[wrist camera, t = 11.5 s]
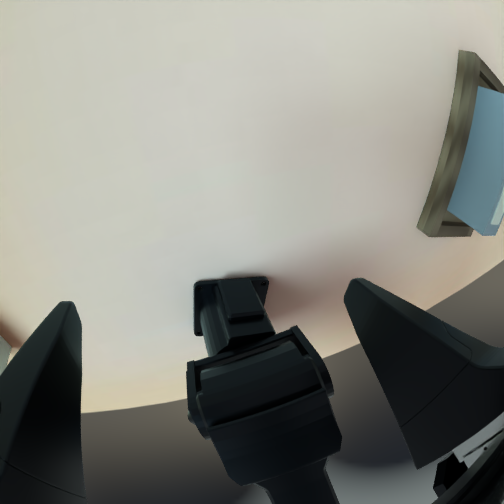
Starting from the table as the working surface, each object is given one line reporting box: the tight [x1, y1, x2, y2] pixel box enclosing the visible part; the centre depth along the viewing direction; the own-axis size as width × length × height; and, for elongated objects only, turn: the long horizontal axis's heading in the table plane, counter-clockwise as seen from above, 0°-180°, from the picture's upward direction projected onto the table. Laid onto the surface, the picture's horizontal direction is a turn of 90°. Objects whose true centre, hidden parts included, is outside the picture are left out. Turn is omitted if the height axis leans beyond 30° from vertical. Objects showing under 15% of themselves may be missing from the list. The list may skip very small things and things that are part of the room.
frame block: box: [447, 86, 504, 236], centre depth 20 cm, size 5×16×6 cm, turn 172°
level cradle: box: [417, 50, 504, 237], centre depth 23 cm, size 22×12×2 cm, turn 172°
